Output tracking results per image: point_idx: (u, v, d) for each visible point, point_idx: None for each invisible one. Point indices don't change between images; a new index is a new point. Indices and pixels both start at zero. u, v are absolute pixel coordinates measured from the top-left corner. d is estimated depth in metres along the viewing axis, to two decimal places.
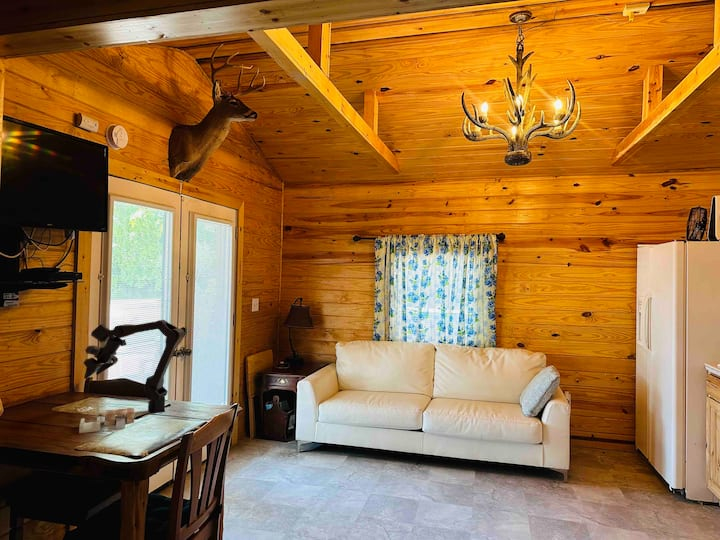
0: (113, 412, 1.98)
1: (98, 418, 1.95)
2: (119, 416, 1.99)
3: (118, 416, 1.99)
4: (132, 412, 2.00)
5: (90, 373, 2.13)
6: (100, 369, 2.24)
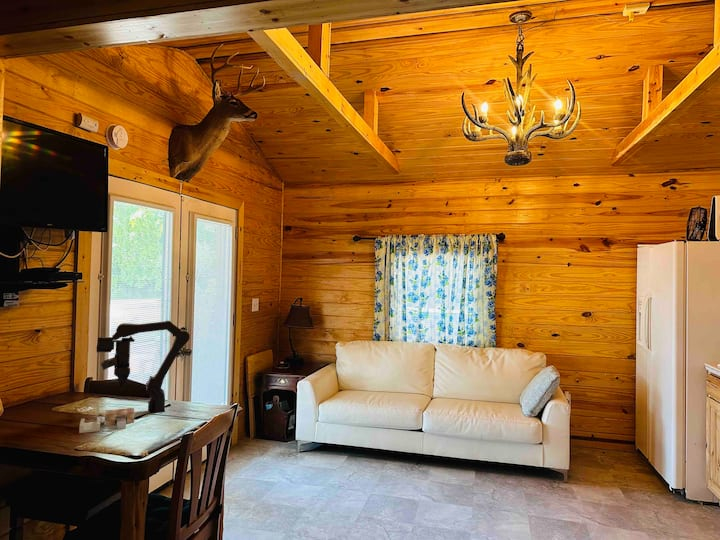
0: (113, 412, 1.98)
1: (98, 418, 1.95)
2: (119, 416, 1.99)
3: (118, 416, 1.99)
4: (132, 412, 2.00)
5: (124, 380, 2.08)
6: None
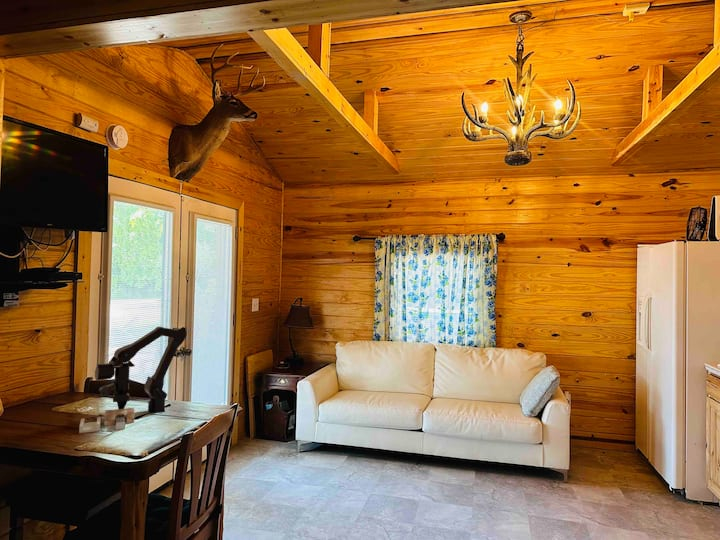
0: (113, 412, 1.98)
1: (98, 418, 1.95)
2: (118, 416, 1.98)
3: (117, 417, 1.97)
4: (132, 412, 2.00)
5: (124, 404, 2.07)
6: None
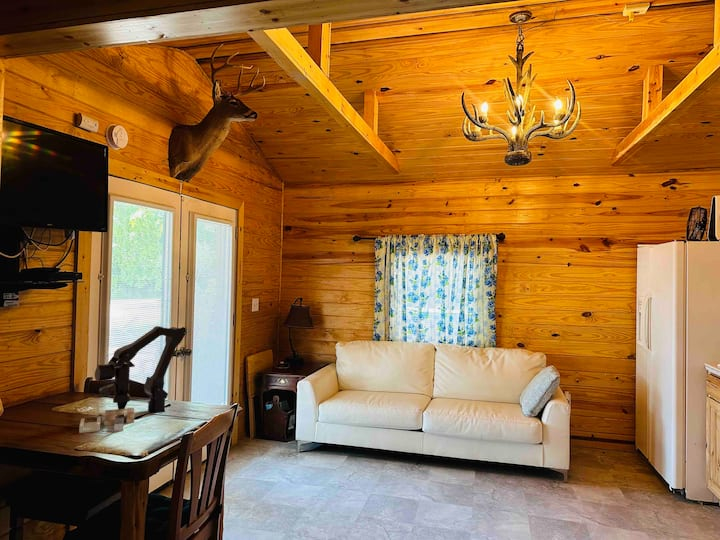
0: (113, 412, 1.98)
1: (98, 418, 1.95)
2: (117, 418, 1.96)
3: (117, 418, 1.96)
4: (132, 412, 2.00)
5: (124, 405, 2.05)
6: None
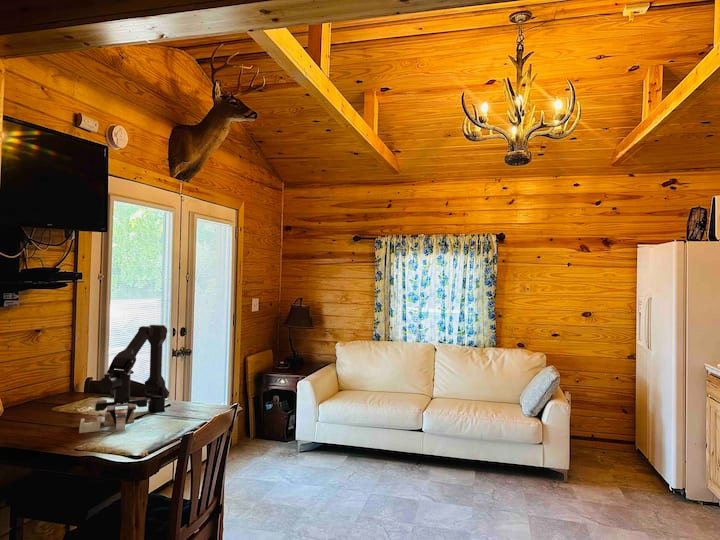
0: None
1: (98, 418, 1.95)
2: (119, 418, 1.96)
3: (118, 418, 1.96)
4: (132, 412, 2.00)
5: None
6: (126, 417, 1.94)
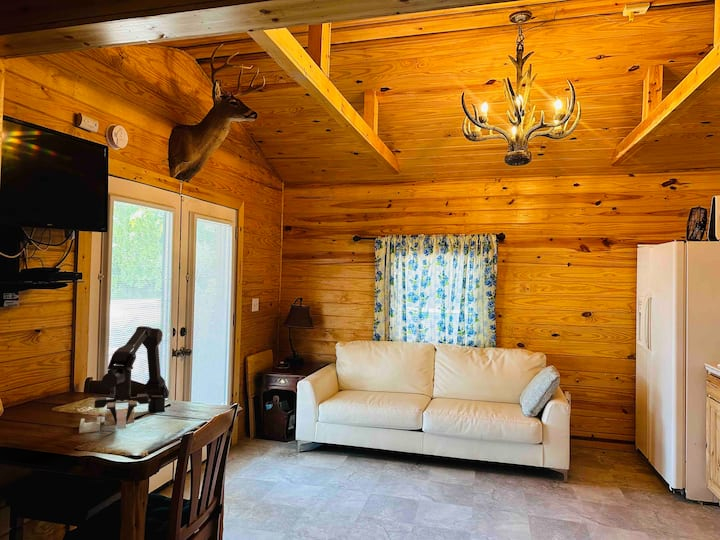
0: None
1: (98, 418, 1.95)
2: (119, 415, 1.88)
3: (118, 415, 1.88)
4: (132, 412, 2.00)
5: (112, 414, 1.83)
6: (126, 415, 1.86)
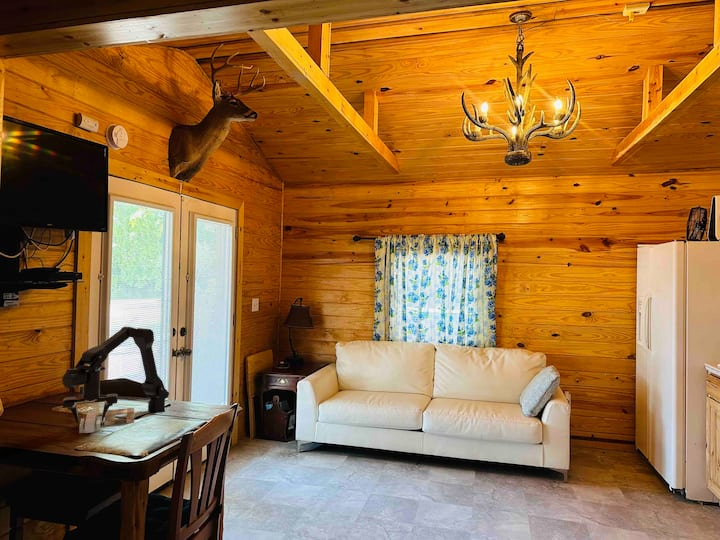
0: (113, 412, 1.98)
1: (98, 418, 1.95)
2: (88, 418, 1.90)
3: (88, 418, 1.90)
4: (132, 412, 2.00)
5: None
6: (102, 414, 1.89)
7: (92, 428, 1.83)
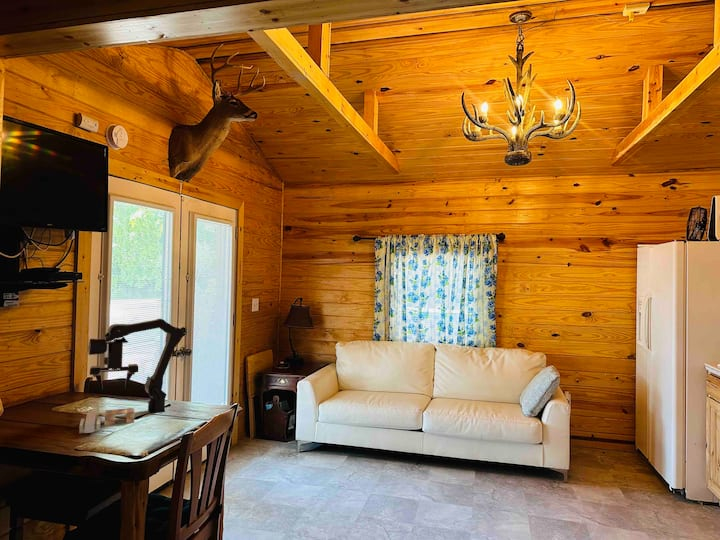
0: (113, 412, 1.98)
1: (98, 418, 1.95)
2: (88, 418, 1.90)
3: (88, 418, 1.90)
4: (132, 412, 2.00)
5: None
6: None
7: (92, 428, 1.83)
